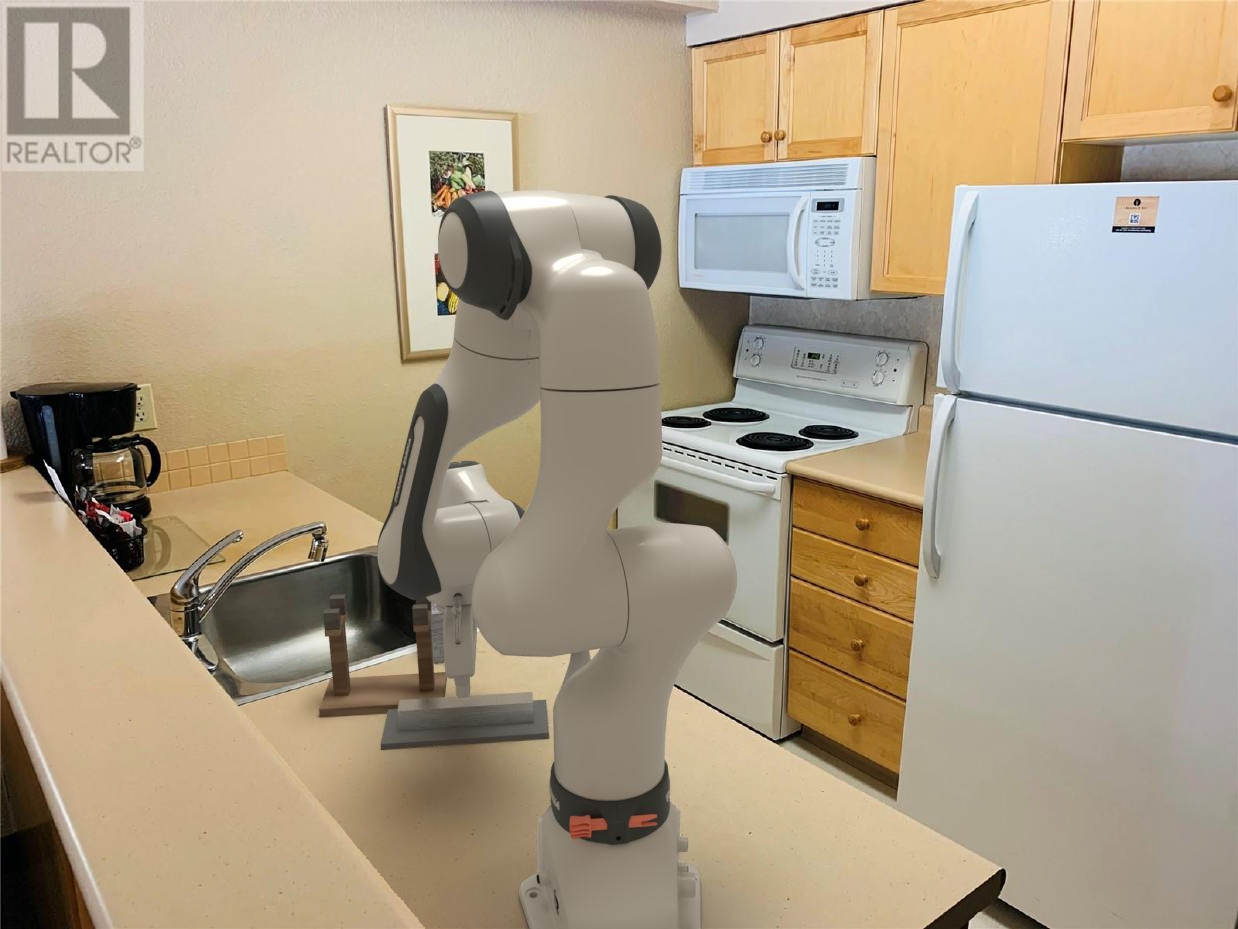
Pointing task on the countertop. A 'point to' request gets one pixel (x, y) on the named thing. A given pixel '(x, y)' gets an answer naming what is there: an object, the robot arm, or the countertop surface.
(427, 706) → the steel rail
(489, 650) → the countertop surface
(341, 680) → the rail stand
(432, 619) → the medicine box
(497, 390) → the robot arm
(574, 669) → the flask
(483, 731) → the rubber mat
